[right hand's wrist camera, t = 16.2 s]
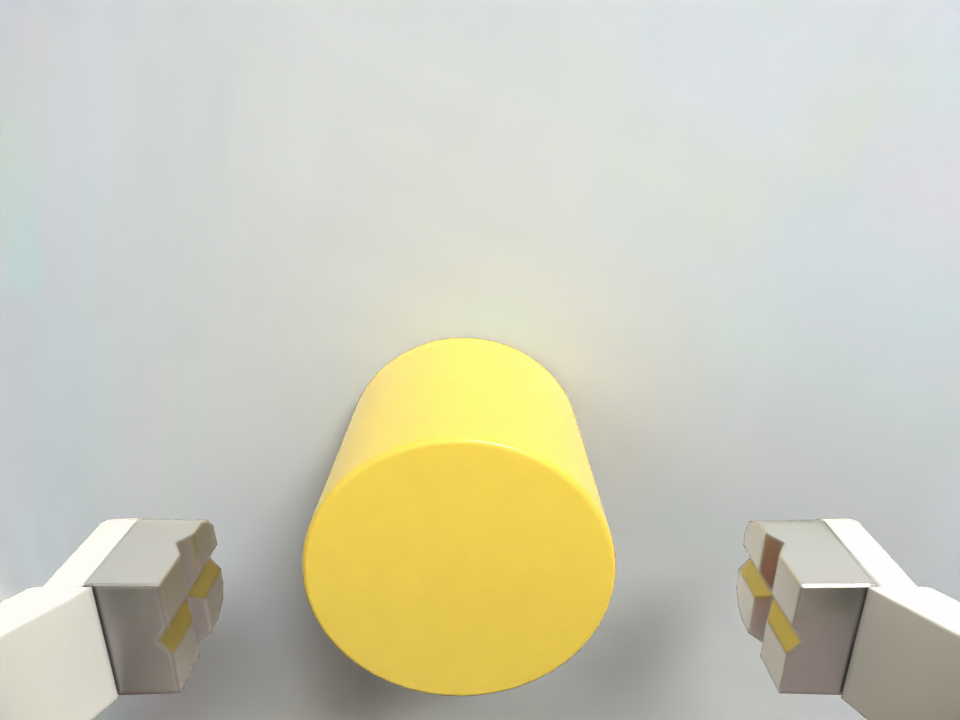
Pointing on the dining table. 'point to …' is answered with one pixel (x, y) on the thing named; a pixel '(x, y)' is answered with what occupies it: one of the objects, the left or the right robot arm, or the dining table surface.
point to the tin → (460, 525)
